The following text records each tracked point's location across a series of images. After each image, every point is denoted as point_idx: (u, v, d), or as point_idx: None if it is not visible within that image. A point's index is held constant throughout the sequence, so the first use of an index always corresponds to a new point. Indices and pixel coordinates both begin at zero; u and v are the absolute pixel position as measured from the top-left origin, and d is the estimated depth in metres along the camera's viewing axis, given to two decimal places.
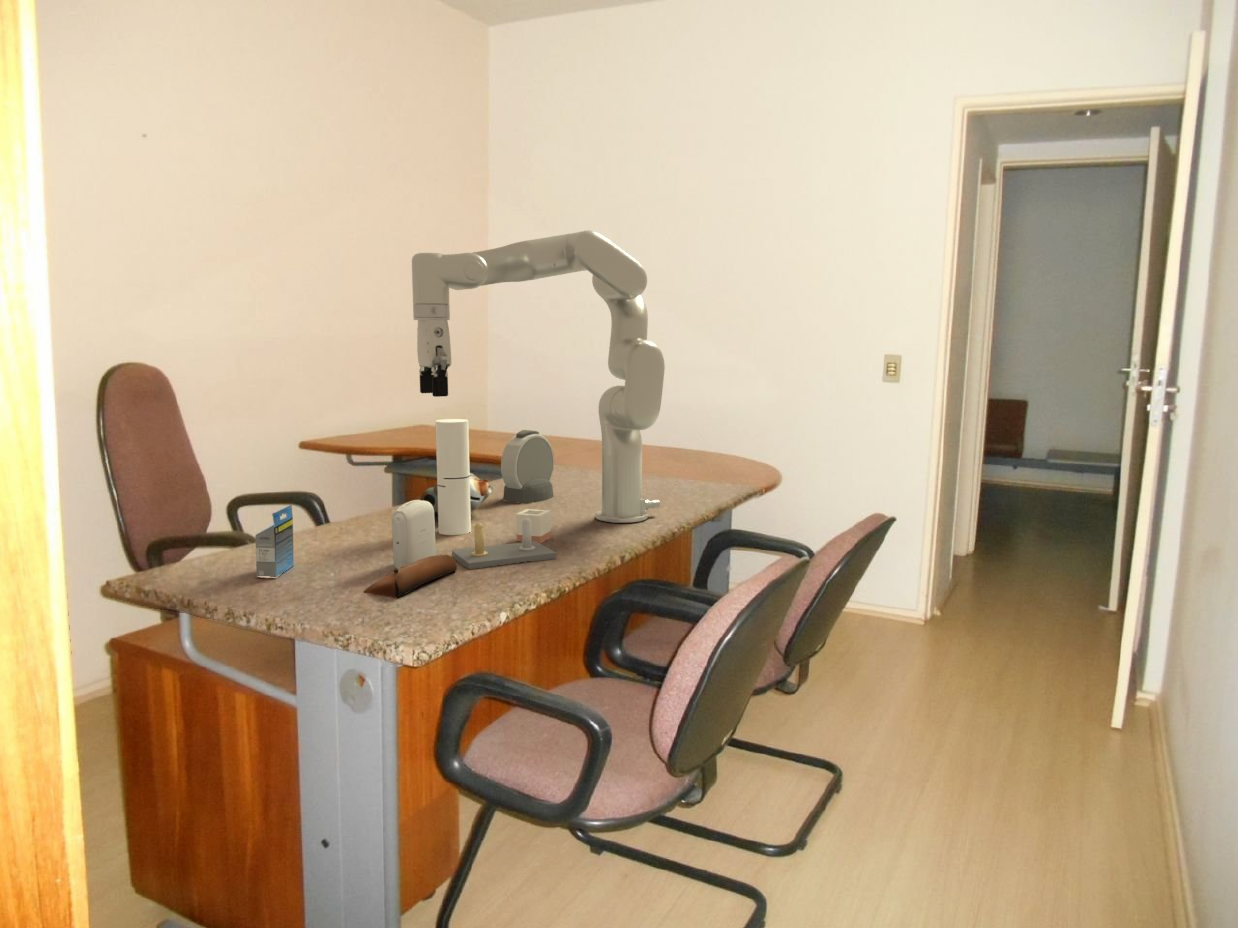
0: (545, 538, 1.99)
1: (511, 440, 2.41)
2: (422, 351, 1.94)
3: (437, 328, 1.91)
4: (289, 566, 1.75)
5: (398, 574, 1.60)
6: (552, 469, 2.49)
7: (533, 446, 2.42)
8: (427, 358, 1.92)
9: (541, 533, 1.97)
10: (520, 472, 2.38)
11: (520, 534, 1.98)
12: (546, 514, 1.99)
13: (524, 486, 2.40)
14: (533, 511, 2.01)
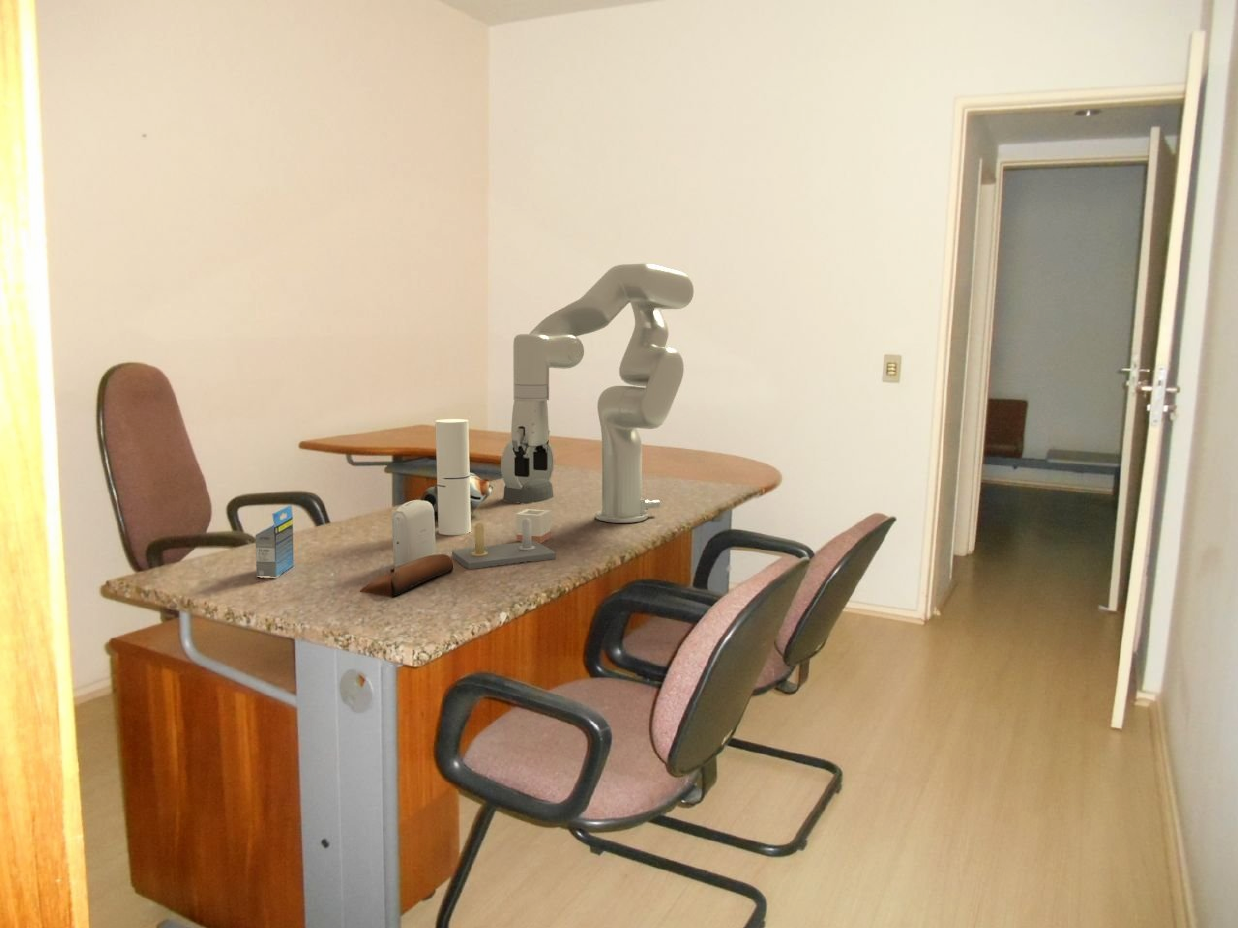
0: (545, 538, 1.99)
1: None
2: (543, 430, 1.96)
3: None
4: (289, 566, 1.75)
5: (394, 573, 1.60)
6: (552, 469, 2.49)
7: None
8: (547, 435, 1.99)
9: (541, 533, 1.97)
10: None
11: (520, 534, 1.98)
12: (546, 514, 1.99)
13: (524, 486, 2.40)
14: (533, 511, 2.01)
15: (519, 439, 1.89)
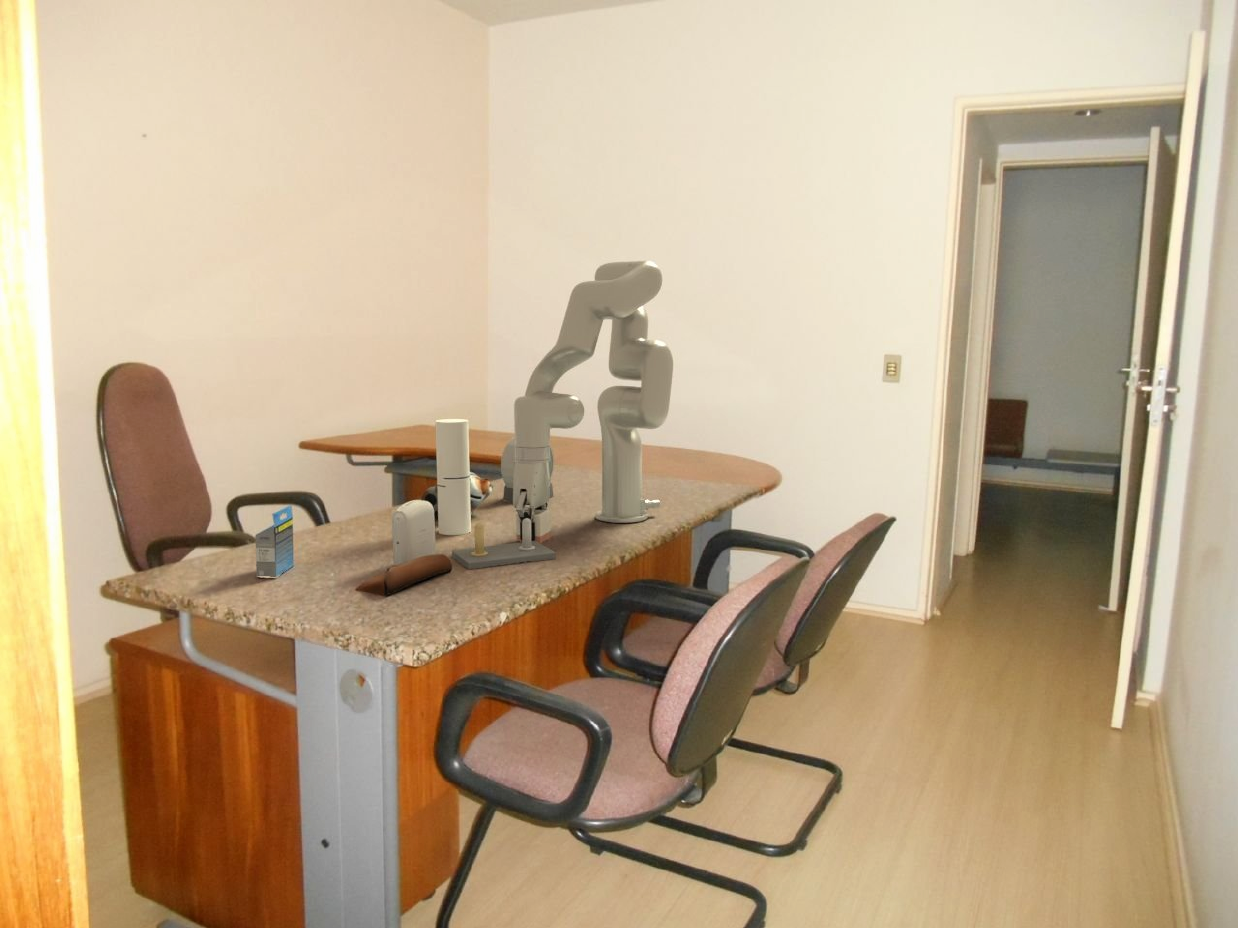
0: (545, 538, 1.99)
1: (511, 441, 2.41)
2: (544, 490, 1.98)
3: None
4: (289, 566, 1.75)
5: (388, 573, 1.60)
6: (552, 469, 2.49)
7: None
8: (548, 494, 2.01)
9: (541, 533, 1.97)
10: None
11: None
12: (546, 514, 1.99)
13: None
14: None
15: (523, 507, 1.92)
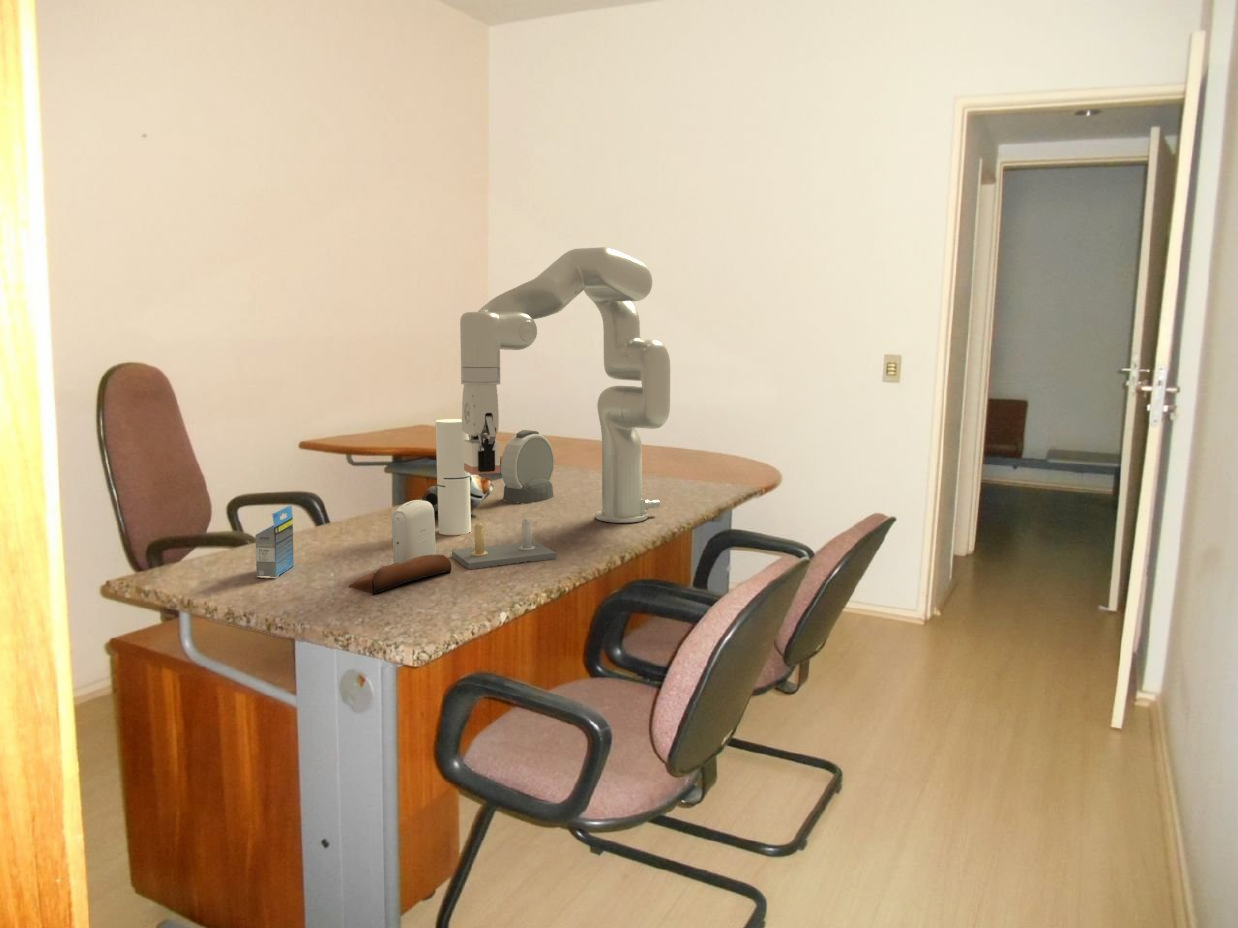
0: None
1: (511, 441, 2.41)
2: None
3: None
4: (289, 566, 1.75)
5: (378, 571, 1.61)
6: (552, 469, 2.49)
7: (533, 446, 2.42)
8: None
9: None
10: (520, 472, 2.38)
11: (476, 466, 1.78)
12: None
13: (524, 486, 2.40)
14: (475, 441, 1.82)
15: None
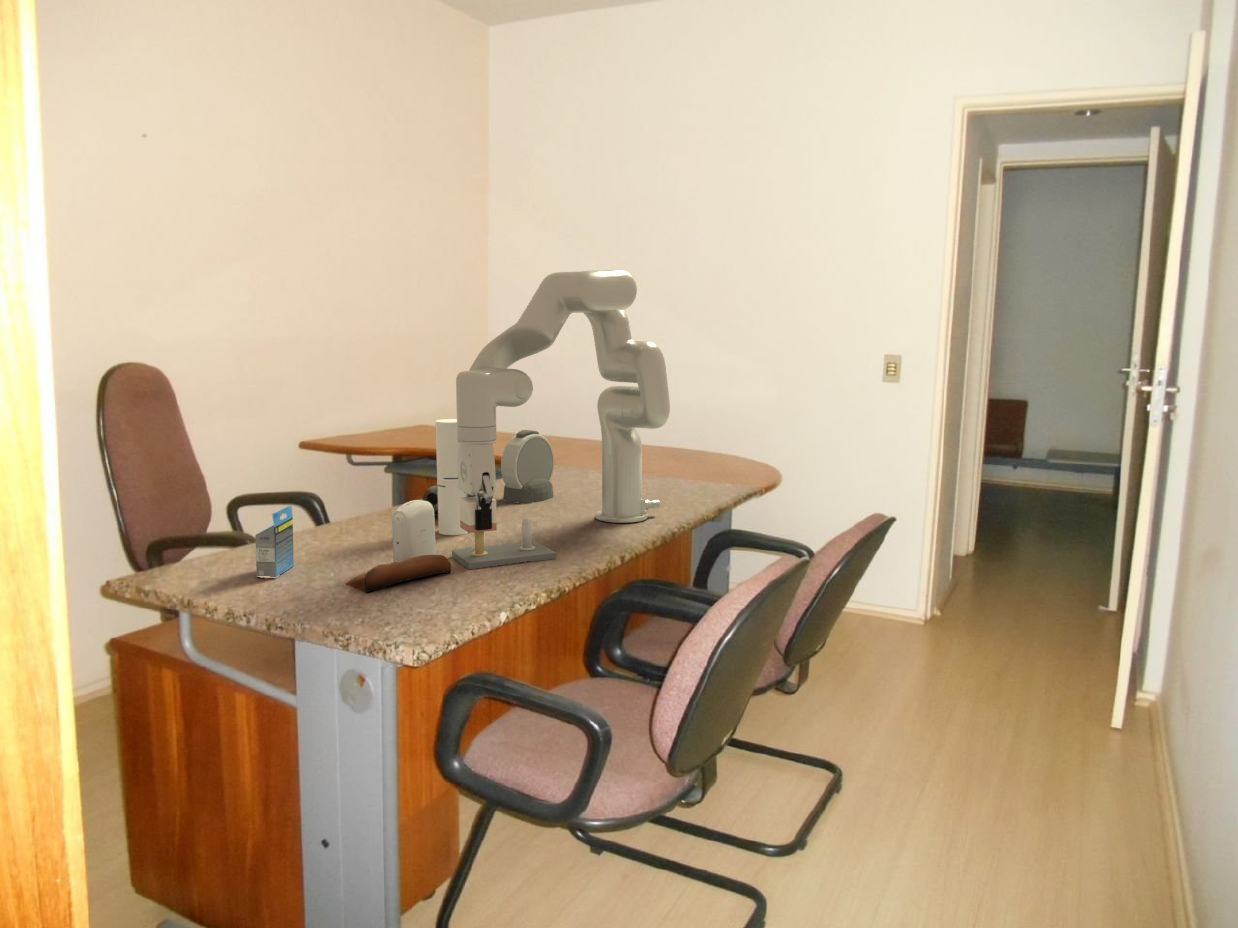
0: None
1: (511, 440, 2.41)
2: None
3: None
4: (289, 566, 1.75)
5: (372, 570, 1.62)
6: (552, 469, 2.49)
7: (533, 446, 2.42)
8: None
9: None
10: (520, 472, 2.38)
11: (473, 524, 1.78)
12: None
13: (524, 486, 2.40)
14: (471, 498, 1.82)
15: None
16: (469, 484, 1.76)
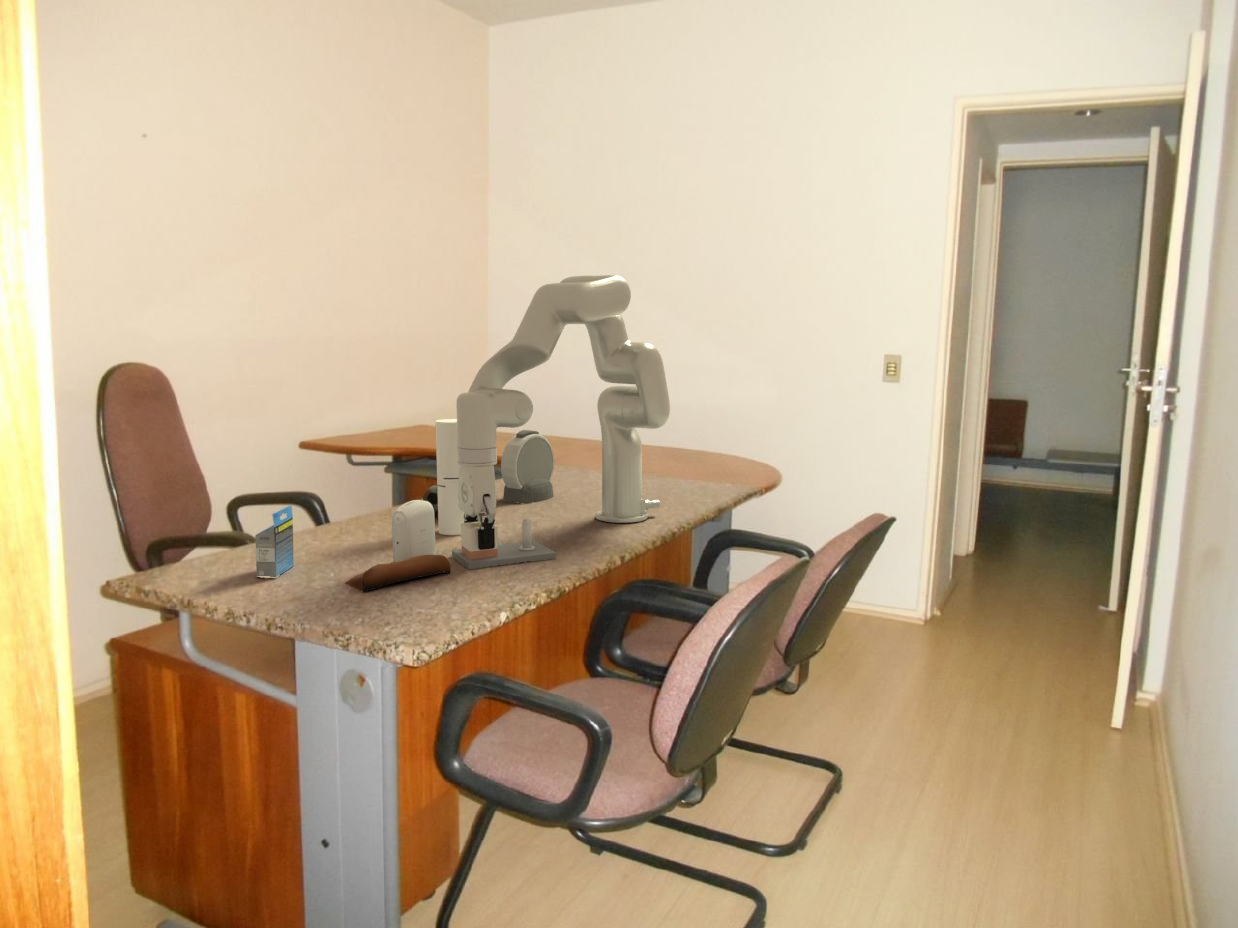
0: None
1: (511, 441, 2.41)
2: None
3: None
4: (289, 566, 1.75)
5: (370, 569, 1.63)
6: (552, 469, 2.49)
7: (533, 446, 2.42)
8: None
9: None
10: (520, 472, 2.38)
11: (474, 550, 1.79)
12: None
13: (524, 486, 2.40)
14: (472, 524, 1.83)
15: None
16: (470, 506, 1.77)
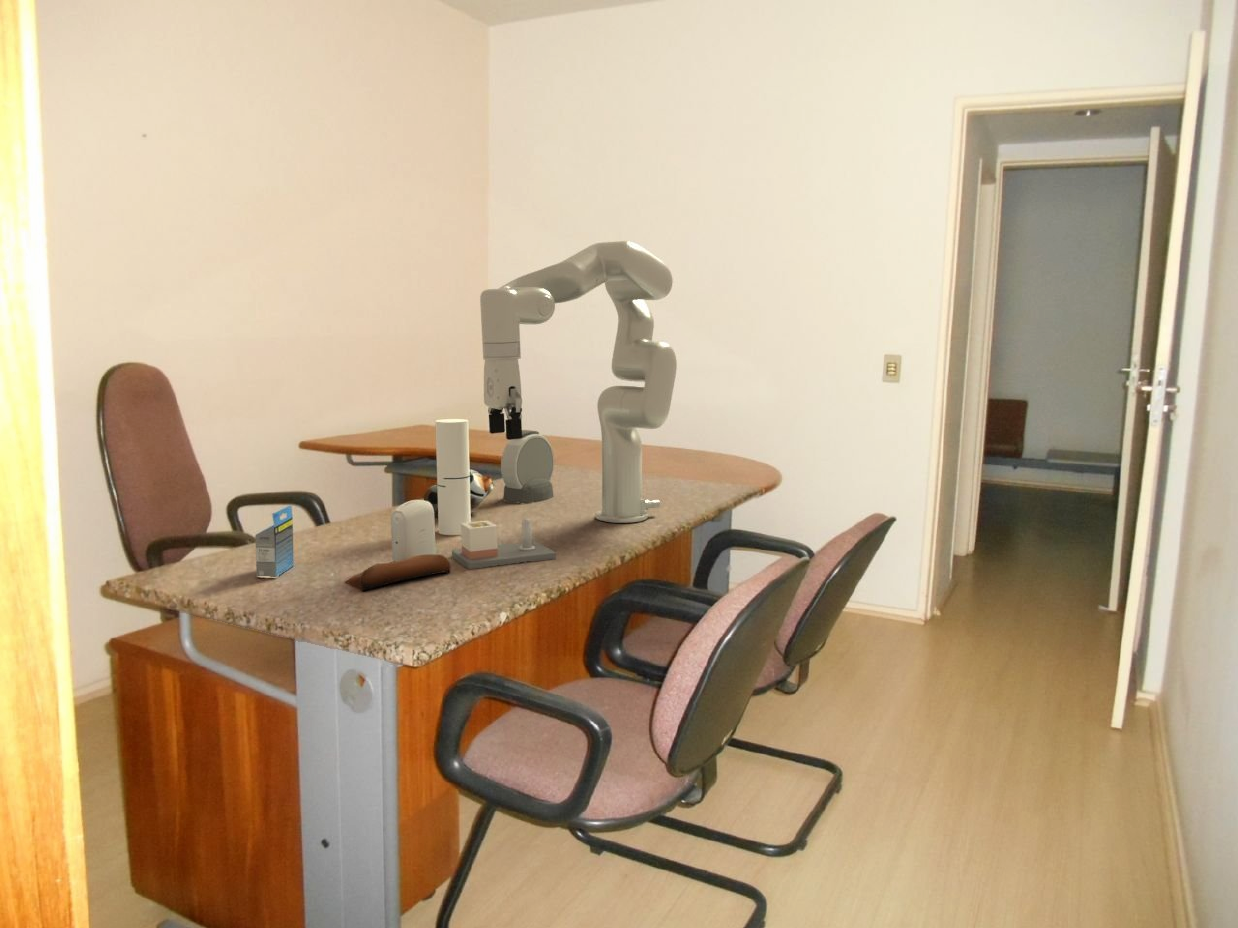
0: None
1: (511, 440, 2.41)
2: None
3: None
4: (289, 566, 1.75)
5: (368, 569, 1.63)
6: (552, 469, 2.49)
7: (533, 446, 2.42)
8: None
9: None
10: (520, 472, 2.38)
11: (474, 550, 1.79)
12: None
13: (524, 486, 2.40)
14: (472, 524, 1.83)
15: None
16: (496, 398, 1.83)
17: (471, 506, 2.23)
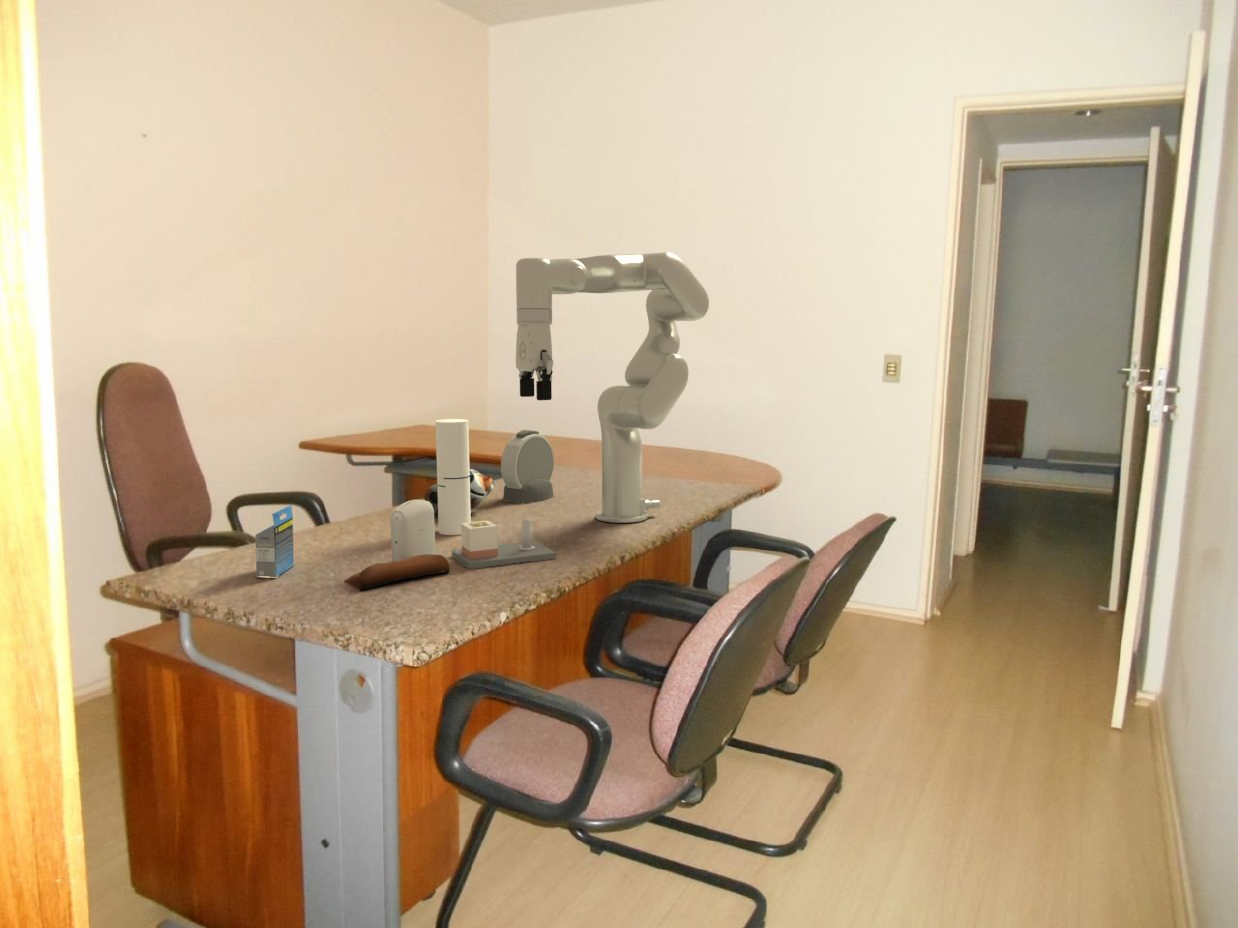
0: None
1: (511, 440, 2.41)
2: None
3: None
4: (289, 566, 1.75)
5: (367, 568, 1.63)
6: (552, 469, 2.49)
7: (533, 446, 2.42)
8: None
9: None
10: (520, 472, 2.38)
11: (474, 550, 1.79)
12: None
13: (524, 486, 2.40)
14: (472, 524, 1.83)
15: None
16: (528, 361, 1.93)
17: (472, 505, 2.23)
